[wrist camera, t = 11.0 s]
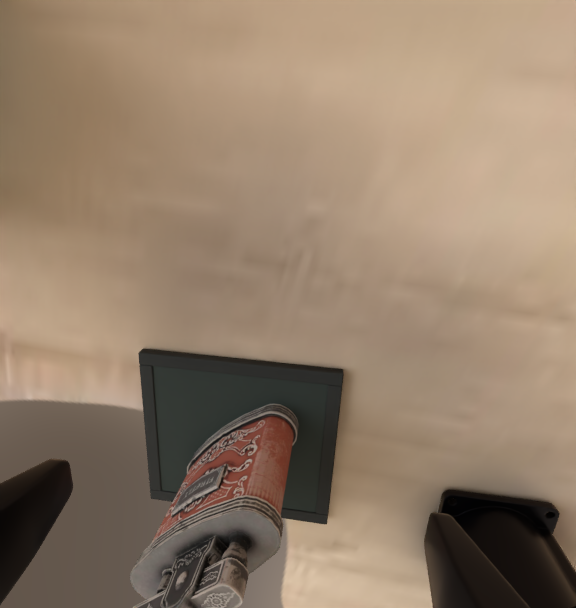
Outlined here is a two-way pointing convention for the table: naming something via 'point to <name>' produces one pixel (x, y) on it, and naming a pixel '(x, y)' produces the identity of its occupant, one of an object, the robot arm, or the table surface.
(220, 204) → the table surface
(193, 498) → the lighter
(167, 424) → the desk mat
